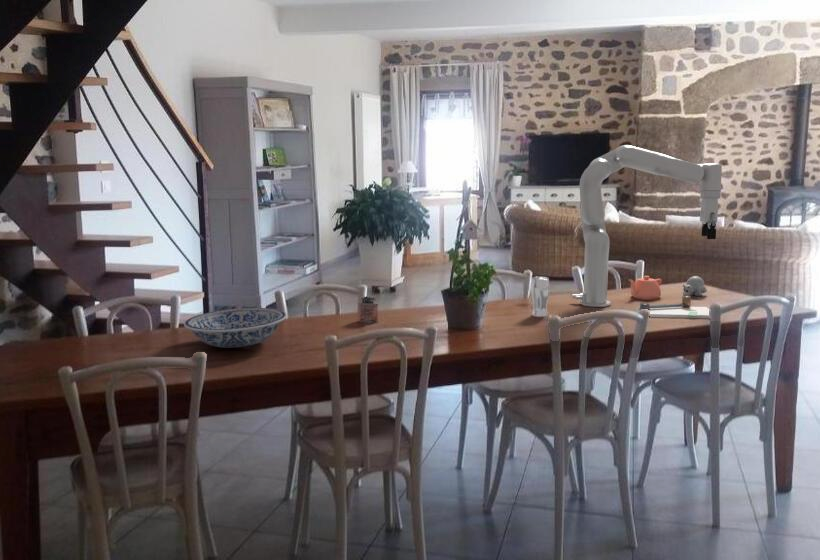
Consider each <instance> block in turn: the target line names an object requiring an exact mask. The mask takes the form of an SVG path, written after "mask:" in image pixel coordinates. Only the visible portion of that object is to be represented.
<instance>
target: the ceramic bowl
mask: <svg viewBox="0 0 820 560" xmlns="http://www.w3.org/2000/svg"><path fill="white" fill-rule="evenodd" d="M285 319H287V313H286V312H285V311H284V310H280V309H276V308H269V307H243V308H241V307H239V308H230V309H222V310H216V311H210V312H206V313H201V314H198V315H195V316H193V317H190V318H188V319H187V320H185V321H184V323H183V327H184V328H186V329H187V330H190V331H192V333H193V335H195V336H196V338H197V339H198V340H200V341H201V342H202V343H204V344H206V345H209V346H212V347H216V348H222V349H223V348H227V349H229V348H230V349H231V348H242V347H248V346H249V347H250V346H253V345H257V344H259V343H262V342H264V341H266V340H267V339H268V338H270V337H271V336H272V335H273V334H275V332H276V331H277V329H278V328H279V325H280V324H281V322H283V321H285Z"/></svg>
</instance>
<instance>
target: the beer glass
mask: <svg viewBox="0 0 820 560" xmlns="http://www.w3.org/2000/svg"><path fill="white" fill-rule="evenodd" d="M530 284H531V287H530V288H531V290H530V292H531V293H530V294H531V300H532V313H531V316H532V317H535V318H546V317H548V316H549V315H548V308H547V307H548V306H547V305H548V302H549V301H548V300H549V295H550V278H549V277H547V276H533V277H531V283H530Z"/></svg>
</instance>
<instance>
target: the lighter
mask: <svg viewBox="0 0 820 560" xmlns="http://www.w3.org/2000/svg"><path fill="white" fill-rule="evenodd" d="M374 301H377V297H376V296H370V295H366V296H361V301H359V302H358V305H359V307H358V308H359V319H358V321H359V322H360V323H366V322H367V323H368V324H379V309H378V307H379V303H378V302H374Z"/></svg>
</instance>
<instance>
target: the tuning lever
mask: <svg viewBox="0 0 820 560" xmlns="http://www.w3.org/2000/svg"><path fill="white" fill-rule="evenodd" d="M691 301H692V296H691V295H690V296H682V301H681V303H667V304H653V305H652V304H650V303H648V302H641V303H640V304H639V306H640V309H648V310H649V309H652V308H669V307H692V305H691V303H692V302H691ZM640 309H639V310H640Z"/></svg>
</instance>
